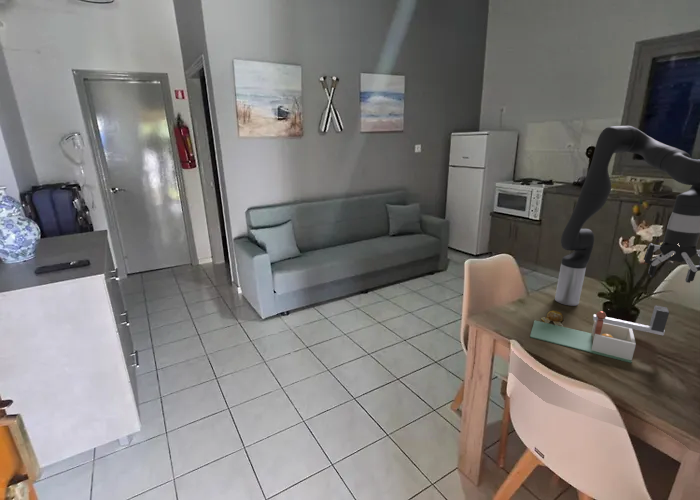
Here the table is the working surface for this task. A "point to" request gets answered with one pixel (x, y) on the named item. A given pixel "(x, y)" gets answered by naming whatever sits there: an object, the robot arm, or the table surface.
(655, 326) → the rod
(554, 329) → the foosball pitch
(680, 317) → the table surface
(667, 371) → the table surface
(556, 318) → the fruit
